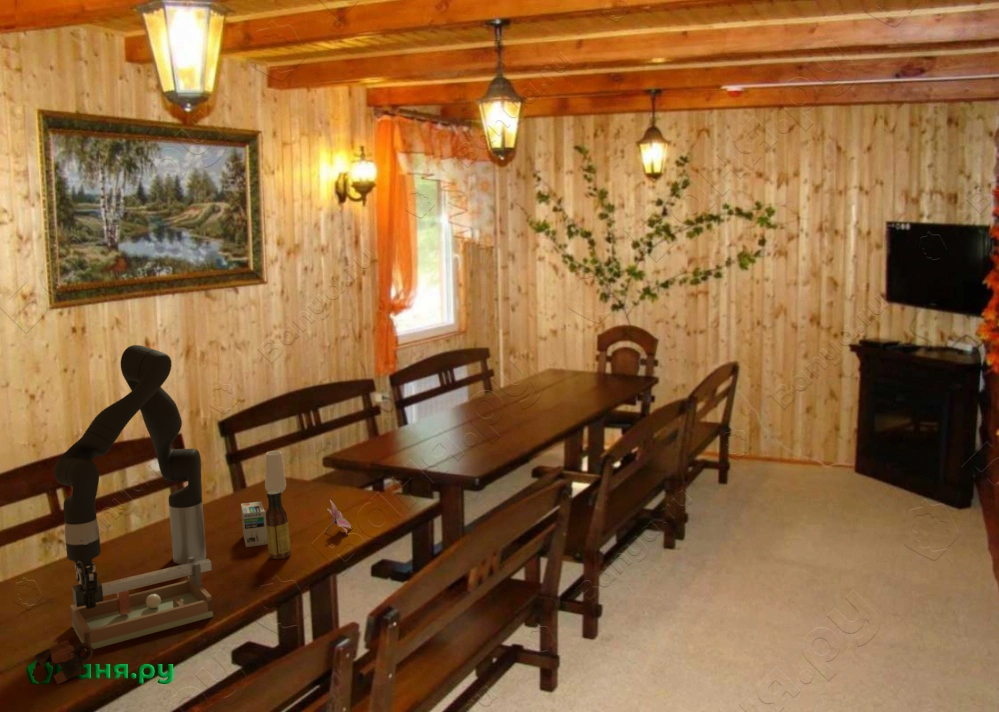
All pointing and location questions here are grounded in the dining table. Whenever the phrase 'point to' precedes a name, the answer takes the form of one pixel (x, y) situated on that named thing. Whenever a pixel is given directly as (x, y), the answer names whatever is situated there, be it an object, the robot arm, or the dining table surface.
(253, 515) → the light bulb box
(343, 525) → the lily
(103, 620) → the wooden tray
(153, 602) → the ball
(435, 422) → the dining table surface
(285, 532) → the sauce bottle
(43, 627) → the dining table surface
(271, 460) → the champagne flute
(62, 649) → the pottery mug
